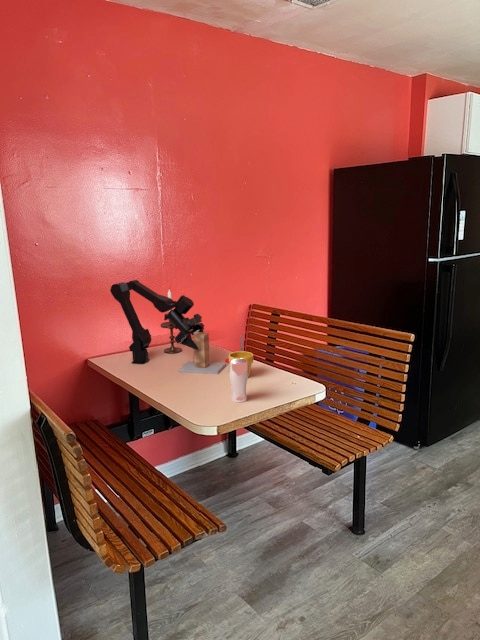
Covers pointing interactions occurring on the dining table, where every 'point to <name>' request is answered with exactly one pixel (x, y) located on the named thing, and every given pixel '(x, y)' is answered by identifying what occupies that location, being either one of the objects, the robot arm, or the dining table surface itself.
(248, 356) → the plant pot
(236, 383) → the beer glass
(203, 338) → the walnut block
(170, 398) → the dining table surface
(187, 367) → the board
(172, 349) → the candlestick
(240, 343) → the tow hook
